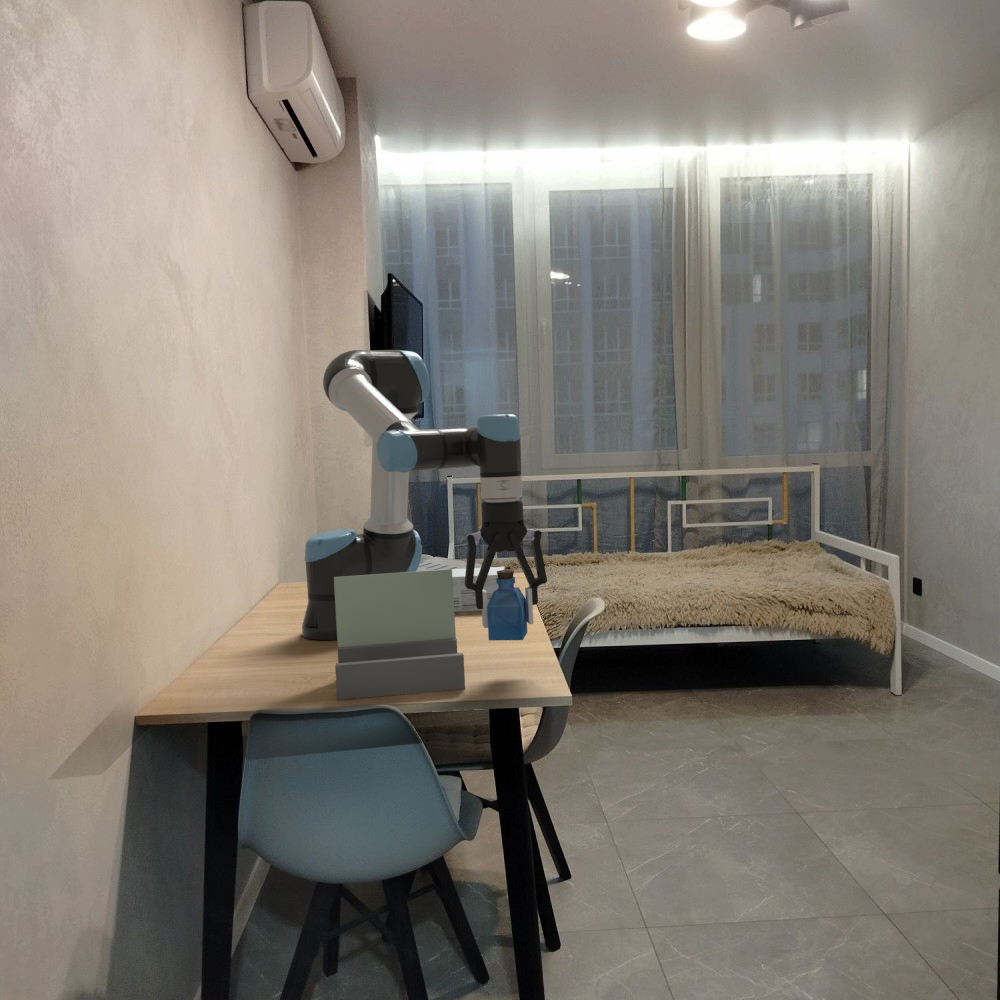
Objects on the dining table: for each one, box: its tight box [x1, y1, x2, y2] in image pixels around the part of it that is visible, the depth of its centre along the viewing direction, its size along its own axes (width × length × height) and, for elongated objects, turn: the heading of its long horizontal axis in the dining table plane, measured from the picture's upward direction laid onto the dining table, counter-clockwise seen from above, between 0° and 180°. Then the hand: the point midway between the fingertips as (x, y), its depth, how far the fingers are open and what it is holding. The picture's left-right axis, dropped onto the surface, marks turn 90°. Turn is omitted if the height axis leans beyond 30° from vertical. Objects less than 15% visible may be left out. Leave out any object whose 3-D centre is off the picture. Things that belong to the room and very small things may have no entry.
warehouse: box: [417, 556, 495, 571], centre depth 250 cm, size 30×14×8 cm, turn 36°
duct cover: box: [334, 569, 457, 648], centre depth 162 cm, size 13×22×1 cm
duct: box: [334, 637, 466, 701], centre depth 155 cm, size 13×22×6 cm, turn 99°
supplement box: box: [443, 566, 506, 613], centre depth 223 cm, size 17×13×9 cm
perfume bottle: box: [487, 569, 528, 641], centre depth 157 cm, size 6×6×12 cm
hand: (507, 624), depth 157 cm, fingers closed on perfume bottle, 7 cm apart
